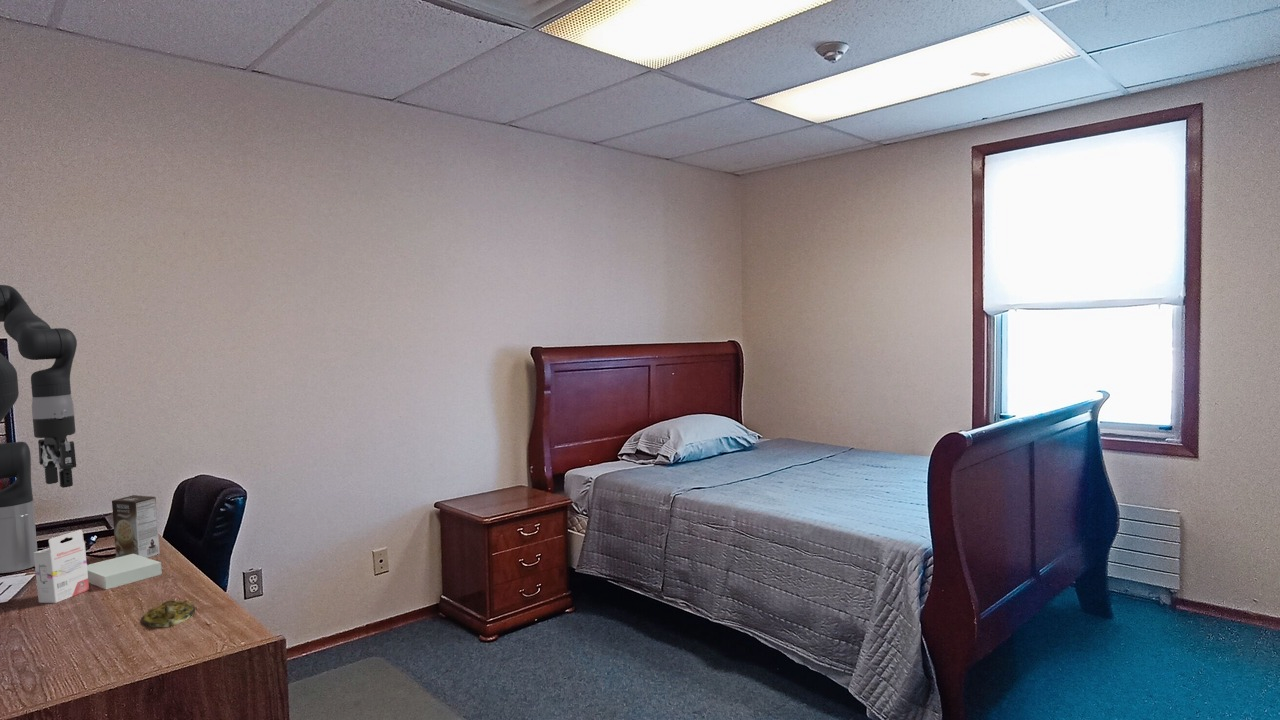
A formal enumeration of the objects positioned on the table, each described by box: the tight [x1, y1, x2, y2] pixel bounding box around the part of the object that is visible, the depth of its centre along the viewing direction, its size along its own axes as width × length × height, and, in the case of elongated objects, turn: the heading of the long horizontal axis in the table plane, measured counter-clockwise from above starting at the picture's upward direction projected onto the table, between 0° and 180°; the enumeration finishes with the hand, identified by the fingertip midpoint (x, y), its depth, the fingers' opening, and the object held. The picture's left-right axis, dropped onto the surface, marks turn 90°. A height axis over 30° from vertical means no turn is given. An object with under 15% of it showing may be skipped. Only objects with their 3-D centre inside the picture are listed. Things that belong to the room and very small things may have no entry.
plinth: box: [87, 554, 163, 590], centre depth 184 cm, size 16×12×3 cm
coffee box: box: [111, 494, 160, 559], centre depth 201 cm, size 9×6×16 cm
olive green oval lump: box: [142, 599, 196, 628], centre depth 156 cm, size 9×5×15 cm
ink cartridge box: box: [34, 529, 90, 604], centre depth 171 cm, size 9×5×15 cm, turn 168°
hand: (59, 485), depth 171 cm, fingers open, 8 cm apart
